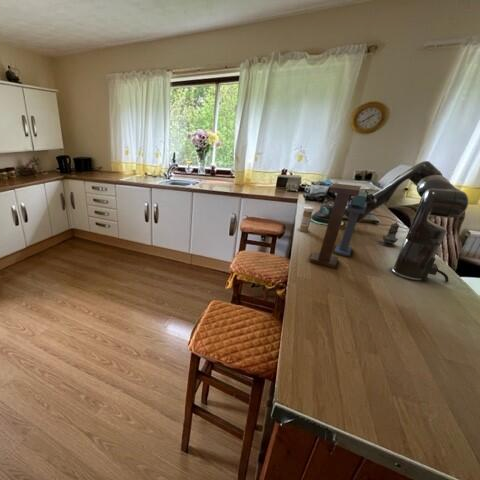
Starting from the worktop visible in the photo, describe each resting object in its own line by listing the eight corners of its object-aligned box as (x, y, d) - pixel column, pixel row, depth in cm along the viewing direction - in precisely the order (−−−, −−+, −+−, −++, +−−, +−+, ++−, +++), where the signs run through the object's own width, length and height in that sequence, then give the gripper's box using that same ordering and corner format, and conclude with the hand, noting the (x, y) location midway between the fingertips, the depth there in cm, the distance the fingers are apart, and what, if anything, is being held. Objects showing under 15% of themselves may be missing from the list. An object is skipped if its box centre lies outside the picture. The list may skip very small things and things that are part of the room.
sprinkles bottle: (309, 231, 143) (315, 207, 137) (305, 232, 140) (311, 209, 135) (301, 228, 146) (307, 205, 141) (297, 230, 144) (302, 207, 139)
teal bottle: (364, 197, 118) (367, 188, 117) (363, 206, 104) (366, 196, 103) (354, 196, 121) (357, 187, 119) (351, 204, 107) (354, 195, 105)
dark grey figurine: (382, 245, 125) (391, 222, 120) (378, 241, 130) (386, 219, 125) (397, 247, 123) (407, 224, 118) (392, 243, 128) (401, 220, 123)
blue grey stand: (350, 249, 120) (367, 201, 111) (349, 257, 113) (366, 206, 104) (336, 246, 124) (350, 199, 115) (333, 253, 116) (348, 204, 107)
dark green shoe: (353, 224, 151) (321, 225, 150) (331, 229, 169) (302, 230, 168) (350, 199, 152) (318, 201, 151) (328, 207, 171) (299, 208, 170)
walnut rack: (337, 260, 110) (360, 186, 98) (334, 269, 103) (359, 190, 90) (313, 254, 115) (333, 183, 103) (309, 262, 108) (330, 186, 95)
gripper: (342, 194, 131) (345, 182, 117) (376, 199, 123) (383, 186, 109) (338, 208, 131) (340, 197, 117) (372, 213, 123) (378, 202, 109)
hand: (361, 192), depth 113 cm, fingers closed on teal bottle, 2 cm apart
